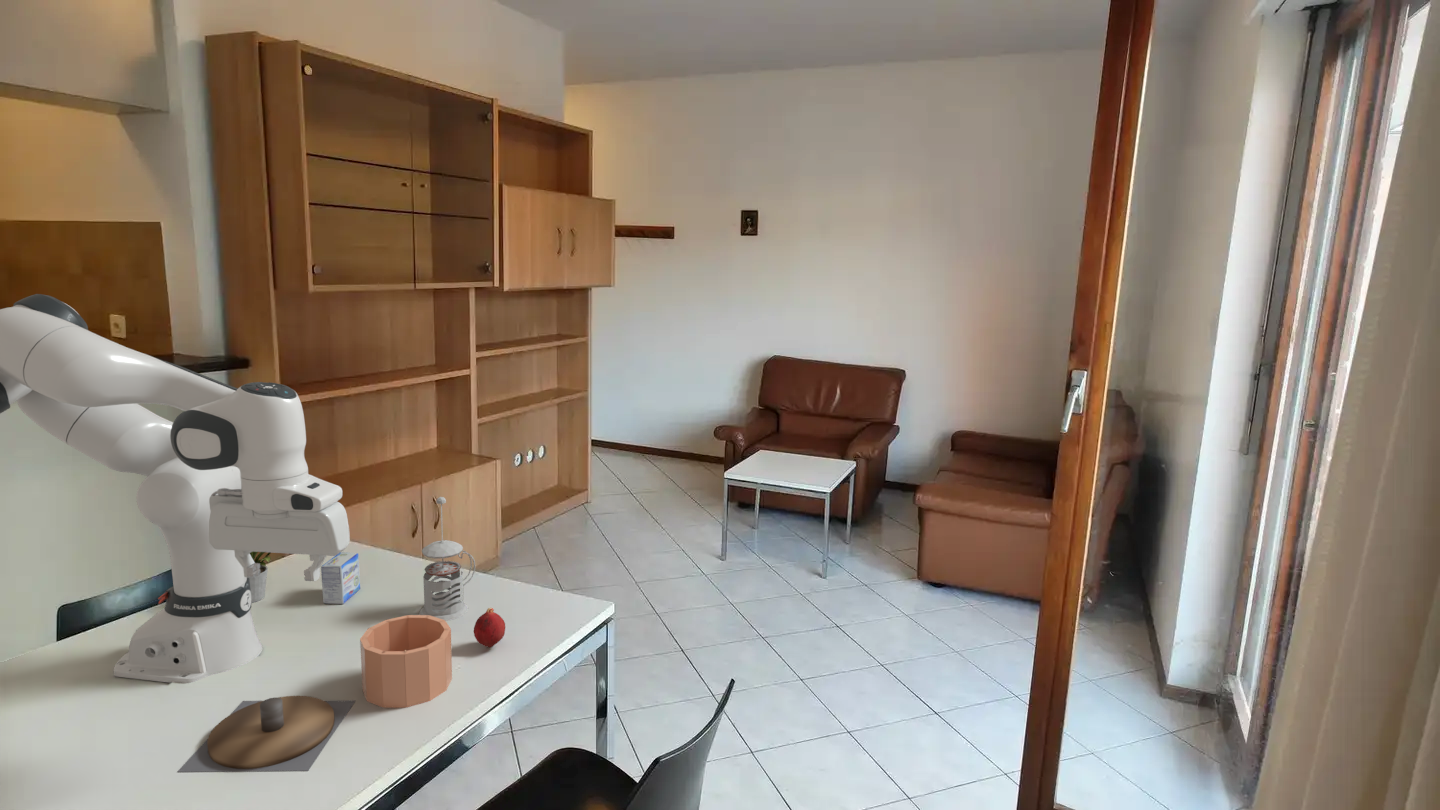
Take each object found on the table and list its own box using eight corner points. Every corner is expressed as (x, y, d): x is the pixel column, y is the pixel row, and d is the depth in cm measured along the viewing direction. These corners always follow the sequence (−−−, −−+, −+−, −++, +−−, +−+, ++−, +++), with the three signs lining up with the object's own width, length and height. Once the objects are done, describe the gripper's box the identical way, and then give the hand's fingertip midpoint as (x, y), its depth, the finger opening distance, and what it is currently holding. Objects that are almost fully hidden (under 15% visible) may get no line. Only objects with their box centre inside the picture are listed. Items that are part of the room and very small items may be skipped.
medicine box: (343, 605, 166) (341, 566, 164) (322, 604, 166) (320, 565, 164) (360, 589, 173) (359, 552, 172) (340, 588, 173) (338, 551, 172)
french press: (411, 608, 165) (407, 495, 160) (464, 594, 173) (462, 485, 168) (430, 626, 158) (426, 507, 153) (484, 610, 166) (482, 497, 161)
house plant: (310, 588, 172) (305, 518, 169) (261, 616, 159) (256, 540, 156) (254, 580, 175) (249, 511, 172) (202, 607, 162) (195, 532, 159)
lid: (182, 769, 112) (179, 737, 111) (244, 702, 129) (242, 673, 128) (306, 768, 114) (304, 736, 113) (351, 702, 130) (349, 673, 129)
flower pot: (351, 710, 129) (348, 654, 127) (380, 665, 143) (378, 614, 141) (438, 709, 130) (436, 654, 128) (459, 666, 144) (458, 615, 142)
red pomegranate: (496, 656, 148) (495, 617, 146) (468, 652, 149) (467, 613, 147) (510, 642, 153) (510, 604, 152) (483, 638, 154) (482, 600, 153)
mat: (177, 775, 112) (177, 771, 112) (243, 703, 129) (242, 700, 129) (308, 773, 113) (308, 770, 113) (355, 703, 131) (355, 700, 131)
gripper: (194, 493, 115) (202, 582, 117) (330, 501, 114) (335, 590, 116) (223, 481, 121) (230, 566, 123) (352, 488, 120) (357, 573, 122)
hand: (282, 578), depth 120 cm, fingers open, 8 cm apart
